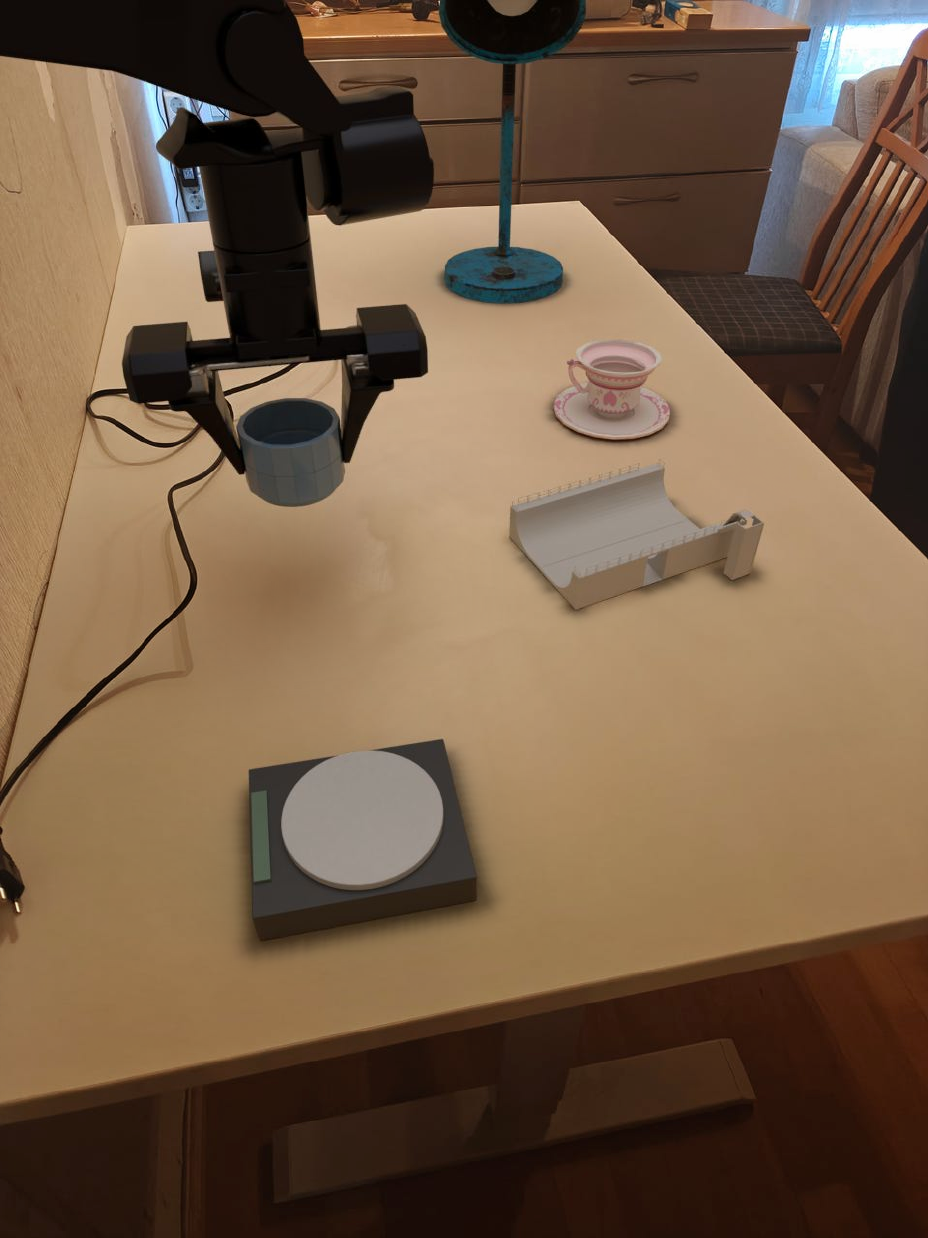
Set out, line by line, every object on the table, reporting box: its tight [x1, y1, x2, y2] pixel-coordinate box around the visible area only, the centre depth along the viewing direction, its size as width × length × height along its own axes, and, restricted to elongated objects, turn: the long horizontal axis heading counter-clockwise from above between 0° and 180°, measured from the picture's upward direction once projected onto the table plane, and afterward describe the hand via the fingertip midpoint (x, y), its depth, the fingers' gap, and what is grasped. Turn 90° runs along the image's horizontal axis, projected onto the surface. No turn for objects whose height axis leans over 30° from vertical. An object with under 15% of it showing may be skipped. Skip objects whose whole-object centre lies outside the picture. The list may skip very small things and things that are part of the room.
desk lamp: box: [438, 0, 587, 304], centre depth 101 cm, size 16×22×45 cm
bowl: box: [235, 397, 346, 508], centre depth 61 cm, size 7×7×5 cm
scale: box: [248, 738, 478, 941], centre depth 50 cm, size 12×10×3 cm
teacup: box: [553, 338, 671, 441], centre depth 88 cm, size 12×12×6 cm
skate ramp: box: [508, 458, 765, 611], centre depth 71 cm, size 15×13×5 cm
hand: (295, 465), depth 62 cm, fingers closed on bowl, 7 cm apart
